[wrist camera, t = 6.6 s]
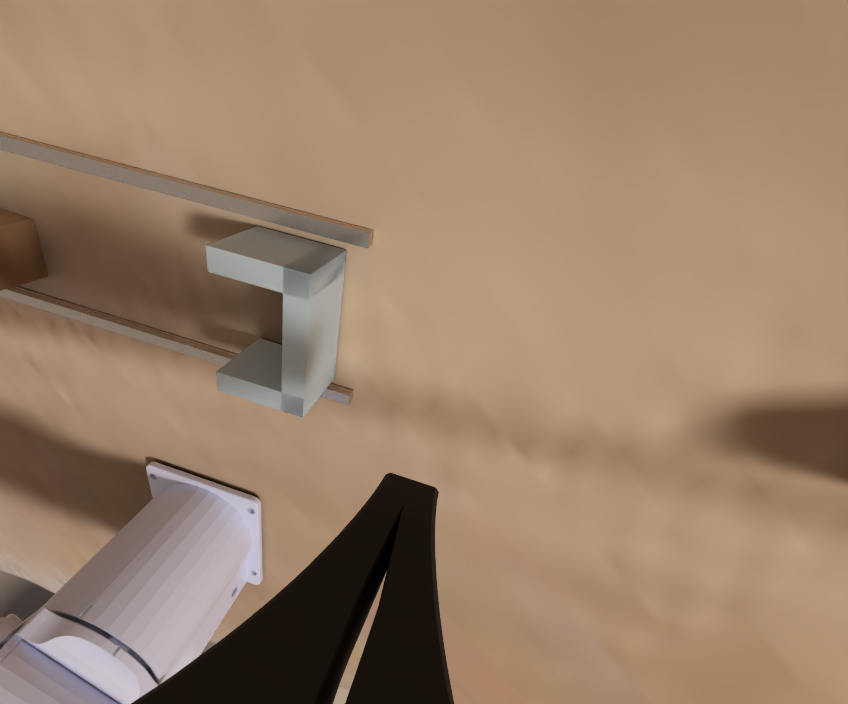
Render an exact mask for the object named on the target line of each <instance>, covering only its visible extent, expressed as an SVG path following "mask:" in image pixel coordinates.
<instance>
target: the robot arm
mask: <svg viewBox="0 0 848 704" xmlns="http://www.w3.org/2000/svg"><path fill="white" fill-rule="evenodd" d="M146 471H147V476H148V480H149V485H150V489H151V494H152V498H153V499H152V500H151V501H150V502H149V503H148V504H147V505H146V506H145V507H144V508H143V509H142V510H141V511H140V512H139V513H138V514H137V515H135V516H134V517H133V518H132V519H131V520H130V521H129V522H128V523H127V524H126V525H125V526H124V527H123V528H122V529H121V530H120V531H119V532H118V533H117V534H116V535H115V536H114V537H113V538H112V539H111V540H110V541H109V542H108V543H107V544H106V545H105V546H104V547H103V548H102V549H101V550H100V551H99V552H98V553H97V554H96V555H95V556H94V557H93V558H91V559H90V560H89V561H88V562H87V563H86V564H85V565H84V566H83V567H82V568H81V569H80V570H79V571H78V572H77V573H76V574H75V575H74V576H73V577H72V578H71V579H70V580H69V581H68V582H67V583H66V584H65V585H64V586H63V587H62V588H61V589H60V590H59V591H58V592H57V593H56V594H55V595H54V596H53V597H52V598H51V599H50V600H49V601H48V602H46V604H44V606H42V607H41V608H40V609H39V610H38V611H37V612H35V613H34V614H32V615H31V616H30V617H28V618H27V619H26V620H25V621H23V622H22V623H20V622H21V620H20V619H19V618H18V617H17V616H16V615H14V614H10V615H8V616H7V617H5V618H0V704H333V701H334V698H335V695H336V693H337V689H338V687H339V684H340V681H341V678H342V676H343V673H344V671H345V668H346V665H347V663H348V660H349V658H350V655H351V653H352V651H353V648H354V646H355V644H356V641H357V639H358V637H359V634H360V632H361V630H362V627H363V625H364V623H365V620H366V618H367V616H368V613H369V611H370V609H371V606H372V604H373V602H374V599H375V597H376V595H377V592H378V590H379V588H380V585H381V583H382V580H383V578H384V576H385V573H386V571H387V573H386V577H385V581H384V585H383V590H382V594H381V598H380V602H379V606H378V610H377V612H376V615H375V618H374V621H373V624H372V627H371V630H370V633H369V636H368V639H367V642H366V645H365V648H364V651H363V654H362V657H361V659H360V662H359V665H358V668H357V671H356V674H355V677H354V680H353V683H352V686H351V689H350V691H349V694H348V697H347V700H346V703H345V704H454V701H453V696H452V690H451V685H450V679H449V674H448V668H447V662H446V656H445V649H444V643H443V636H442V628H441V620H440V611H439V602H438V592H437V579H436V560H435V517H436V506H437V498H438V493H439V492H438V490H437V489H436V488H435V487H432V486H429V485H426V484H423V483H420V482H417V481H414V480H411V479H408V478H405V477H402V476H399V475H396V474H393V473H389V474H386V475H385V477H384V478H383V480H382V481H381V483H380V484H379V486H378V487H377V489H376V490H375V492H374V493H373V494H372V496H371V497H370V498H369V500H368V501H367V502H366V503H365V505H364V506H363V507H362V508H361V510H360V511H359V512H358V513H357V514H356V516H355V517H354V518H353V519H352V520H351V521H350V522H349V524H348V525H347V526H346V527H345V528H344V529H343V530H342V531H341V533H340V534H339V535H338V536H337V537H336V538H335V539H334V540H333V541H332V542H331V543H330V544H329V545H328V546H327V547H326V548H325V549H324V550H323V551H322V552H321V553H320V554H319V555H318V556H317V557H316V558H315V559H314V561H313V562H312V563H311V564H310V565H309V566H308V567H306V568H305V569H304V570H303V571H302V572H301V573H300V574H299V575H298V576H297V577H296V578H295V579H294V580H293V581H292V582H290V583H289V584H288V585H287V586H286V587H285V588H284V589H283V590H281V591H280V592H279V593H278V594H277V595H276V596H275V597H274V598H272V599H271V600H270V601H269V602H268V603H267V604H265V605H264V606H263V607H262V608H261V609H259V610H258V611H257V612H256V613H254V614H253V615H252V616H251V617H250V618H248V619H247V620H246V621H245V622H244V623H242V624H241V625H240V626H239V627H237V628H236V629H235V630H234V631H232V632H231V633H230V634H228V635H227V636H226V637H225V638H223V639H222V640H221V641H219V642H218V643H217V644H215V645H214V646H213V647H211V648H210V649H208V650H207V651H206V652H204V653H203V654H202V655H200V654H201V653H202V651H203V649H204V648H205V646H206V645H207V643H208V642H209V640H210V639H211V637H212V635H213V634H214V632H215V631H216V629H217V627H218V626H219V624H220V623H221V621H222V620H223V618H224V616H225V615H226V613H227V612H228V610H229V609H230V607H231V605H232V604H233V602H234V601H235V599H236V597H237V596H238V594H239V593H240V591H241V590H242V588H243V586H244V585H245V583H246V582H249V583H252V584H255V585H258V584H260V583H261V581H262V579H263V577H262V528H261V502H260V500H259V499H258V498H257V497H255V496H252V495H249V494H246V493H243V492H240V491H238V490H235V489H232V488H229V487H226V486H223V485H220V484H217V483H215V482H212V481H209V480H206V479H203V478H200V477H197V476H194V475H191V474H189V473H186V472H183V471H180V470H177V469H174V468H171V467H168V466H166V465H163V464H160V463H157V462H150V463H149V464H148V465H147V466H146ZM19 623H20V624H19ZM18 624H19V625H18Z"/></svg>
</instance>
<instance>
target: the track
mask: <svg viewBox="0 0 848 704" xmlns="http://www.w3.org/2000/svg"><path fill="white" fill-rule="evenodd" d="M0 150H4V151H7V152H11V153H15V154H18V155H22V156H26V157H30V158H33V159H37V160H41V161H44V162H48V163H52V164H56V165H59V166H63V167H67V168H71V169H74V170H78V171H82V172H85V173H89V174H93V175H97V176H100V177H104V178H108V179H112V180H115V181H119V182H123V183H126V184H130V185H134V186H138V187H141V188H145V189H149V190H152V191H156V192H160V193H164V194H167V195H171V196H175V197H179V198H182V199H186V200H190V201H193V202H197V203H201V204H205V205H208V206H212V207H216V208H219V209H223V210H227V211H231V212H234V213H238V214H242V215H246V216H249V217H253V218H257V219H260V220H264V221H268V222H272V223H275V224H279V225H283V226H287V227H290V228H294V229H298V230H301V231H305V232H309V233H313V234H316V235H320V236H324V237H327V238H331V239H335V240H339V241H342V242H346V243H350V244H354V245H357V246H361V247H365V248H368V247H370V246H371V245H372V239H373V231H374V230H370V229H367V228H363V227H359V226H355V225H351V224H348V223H344V222H340V221H336V220H332V219H329V218H325V217H321V216H317V215H313V214H310V213H306V212H302V211H298V210H294V209H291V208H287V207H283V206H279V205H275V204H272V203H268V202H264V201H260V200H256V199H253V198H249V197H245V196H241V195H237V194H234V193H230V192H226V191H222V190H218V189H215V188H211V187H207V186H203V185H199V184H196V183H192V182H188V181H184V180H180V179H177V178H173V177H169V176H165V175H161V174H158V173H154V172H150V171H146V170H142V169H139V168H135V167H131V166H127V165H123V164H120V163H116V162H112V161H108V160H104V159H101V158H97V157H93V156H89V155H86V154H82V153H78V152H74V151H70V150H67V149H63V148H59V147H55V146H51V145H48V144H44V143H40V142H36V141H32V140H29V139H25V138H21V137H17V136H13V135H10V134H6V133H2V132H0ZM0 297H4V298H7V299H10V300H13V301H16V302H20V303H23V304H26V305H29V306H32V307H36V308H39V309H42V310H45V311H48V312H52V313H55V314H58V315H61V316H64V317H67V318H71V319H74V320H77V321H80V322H83V323H87V324H90V325H93V326H96V327H99V328H103V329H106V330H109V331H112V332H115V333H119V334H122V335H125V336H128V337H131V338H135V339H138V340H141V341H144V342H147V343H151V344H154V345H157V346H160V347H163V348H167V349H170V350H173V351H176V352H179V353H182V354H186V355H189V356H192V357H195V358H198V359H202V360H205V361H208V362H211V363H214V364H218V365H221V366H224V365H225V364H227V363H228V362H229V361H231V360H232V359H233V358H234V357H236V356H237V355H238V354H234V353H231V352H228V351H225V350H221V349H218V348H215V347H212V346H208V345H205V344H202V343H199V342H196V341H192V340H189V339H186V338H183V337H179V336H176V335H173V334H170V333H166V332H163V331H160V330H157V329H153V328H150V327H147V326H144V325H140V324H137V323H134V322H131V321H127V320H124V319H121V318H118V317H114V316H111V315H108V314H105V313H101V312H98V311H95V310H92V309H89V308H85V307H82V306H79V305H76V304H72V303H69V302H66V301H63V300H59V299H56V298H53V297H50V296H46V295H43V294H40V293H37V292H33V291H30V290H27V289H24V288H20V287H17V286H14V287H11V288H8V289H5V290H1V291H0ZM352 396H353V390H351V389H348V388H345V387H341V386H338V385H335V384H332V383H330V384H329V385H328V387H327V388H326V389H325V390H324V392H323V393H322V394H321V395H320V397H323V398H326V399H329V400H333V401H336V402H339V403H342V404H345V405H349V403H350V402H351V400H352Z"/></svg>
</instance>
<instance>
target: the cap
mask: <svg viewBox="0 0 848 704" xmlns="http://www.w3.org/2000/svg"><path fill="white" fill-rule="evenodd" d="M206 256H207V268H208V272H211V273H214V274H218V275H221V276H225V277H228V278H232V279H235V280H239V281H242V282H246V283H249V284H253V285H256V286H260V287H263V288H266V289H270V290H273V291H277V292H280V293H283V327H282V345H281V344H277V343H274V342H271V341H267V340H264V339H261V338H259V339H258V340H256V341H255V342H254V343H252V344H251V345H250V346H249V347H247V348H246V349H245V350H243V351H242V352H241V353H240V354H238V355H237V356H236V357H234V358H233V359H232V360H231V361H229V362H228V363H227V364H225V365H224V366H223V367H221V368H220V369H219V370H218V371H216V375H217V387H218V391H221V392H225V393H228V394H231V395H234V396H237V397H240V398H243V399H246V400H250V401H253V402H256V403H259V404H262V405H265V406H268V407H271V408H275V409H278V410H281V411H284V412H287V413H290V414H293V415H296V416H300V417H304V416H305V414H306V413H307V412H308V411H309V409H310V408H311V407H312V405H313V404H314V403H315V402H316V400H317V399H318V398H319V397H320V395H321V394H322V393H323V392H324V390H325V389H326V388H327V387H328V385H329V384H330V383H331V382H332V380H333V379H334V376H335V365H336V355H337V344H338V334H339V324H340V313H341V303H342V292H343V282H344V271H345V261H346V250H344V249H340V248H337V247H333V246H329V245H326V244H322V243H318V242H315V241H311V240H307V239H303V238H300V237H296V236H292V235H289V234H285V233H281V232H278V231H274V230H270V229H266V228H263V227H259V226H256V227H253V228H251V229H248V230H245V231H243V232H240V233H237V234H234V235H232V236H229V237H226V238H224V239H221V240H218V241H216V242H213V243H210V244H207V245H206Z"/></svg>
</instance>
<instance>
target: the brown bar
mask: <svg viewBox="0 0 848 704" xmlns="http://www.w3.org/2000/svg"><path fill="white" fill-rule="evenodd" d="M47 276H48V274H47V270H46V266H45V262H44V258H43V254H42V250H41V247H40V243H39V239H38V235H37V231H36V227H35V223H34V219H31V218H28V217H25V216H22V215H19V214H16V213H13V212H10V211H7V210H4V209H1V208H0V291H1V290H5V289H8V288H11V287H14V286H18V285H21V284H24V283H27V282H31V281H34V280H37V279H40V278H43V277H47Z"/></svg>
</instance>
